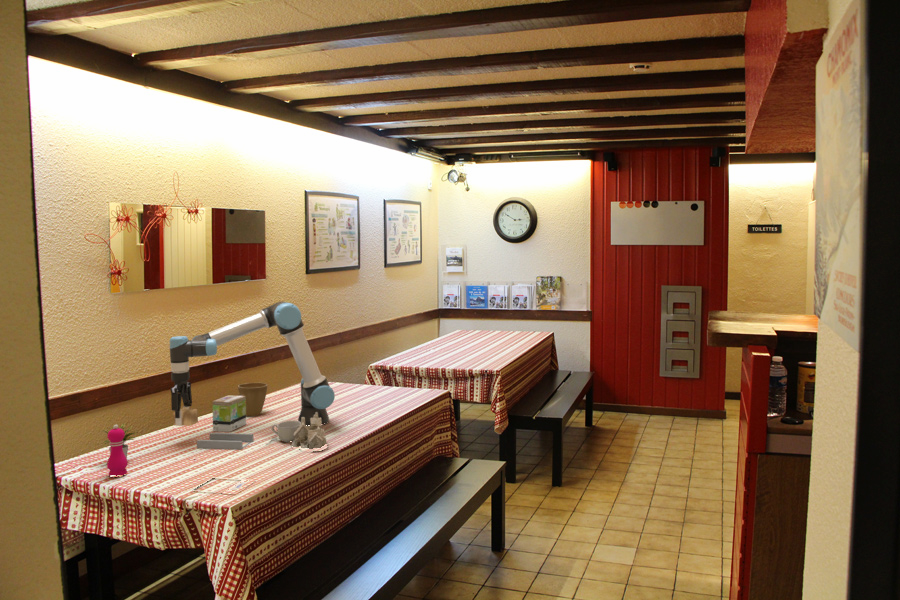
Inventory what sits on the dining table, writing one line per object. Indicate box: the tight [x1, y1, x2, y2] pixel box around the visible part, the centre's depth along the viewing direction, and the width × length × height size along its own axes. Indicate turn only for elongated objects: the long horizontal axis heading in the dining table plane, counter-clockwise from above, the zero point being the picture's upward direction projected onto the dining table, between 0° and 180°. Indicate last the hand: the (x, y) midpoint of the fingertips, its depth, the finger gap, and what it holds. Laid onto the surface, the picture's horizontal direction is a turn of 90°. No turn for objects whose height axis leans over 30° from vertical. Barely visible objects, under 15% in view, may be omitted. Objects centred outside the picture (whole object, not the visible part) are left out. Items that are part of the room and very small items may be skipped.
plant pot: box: [237, 382, 268, 417], centre depth 357 cm, size 15×15×16 cm
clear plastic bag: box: [193, 476, 250, 492], centre depth 249 cm, size 15×1×18 cm
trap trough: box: [196, 432, 255, 450], centre depth 299 cm, size 20×13×4 cm, turn 83°
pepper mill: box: [106, 423, 129, 476], centre depth 262 cm, size 7×7×20 cm
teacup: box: [270, 420, 301, 443], centre depth 309 cm, size 14×11×8 cm
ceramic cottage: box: [291, 412, 328, 449], centre depth 297 cm, size 16×16×15 cm
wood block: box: [172, 408, 199, 427], centre depth 300 cm, size 6×6×8 cm
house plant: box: [100, 422, 139, 459], centre depth 278 cm, size 14×14×16 cm
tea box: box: [212, 394, 247, 433], centre depth 332 cm, size 15×10×15 cm
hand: (182, 422), depth 301 cm, fingers closed on wood block, 6 cm apart
